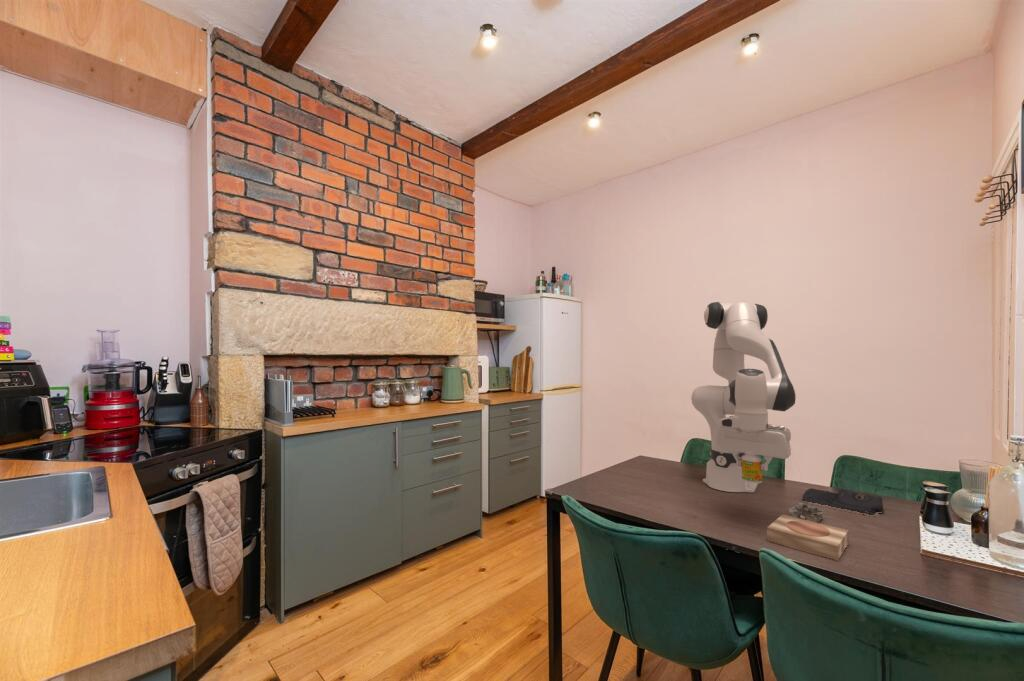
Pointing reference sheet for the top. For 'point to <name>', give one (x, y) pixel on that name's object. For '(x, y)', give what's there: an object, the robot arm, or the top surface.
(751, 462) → the supplement bottle
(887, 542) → the top surface
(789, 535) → the birch base
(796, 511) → the grey gravel pile
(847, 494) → the dark slate chunk
